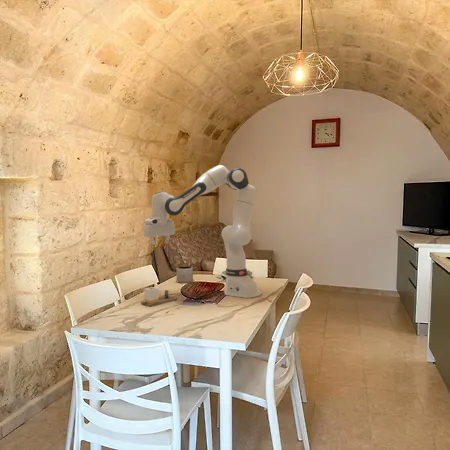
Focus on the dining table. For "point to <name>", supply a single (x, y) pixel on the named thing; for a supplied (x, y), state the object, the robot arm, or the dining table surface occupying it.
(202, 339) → the dining table surface
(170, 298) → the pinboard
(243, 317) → the dining table surface
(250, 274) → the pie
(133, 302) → the dining table surface
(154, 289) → the sleeve
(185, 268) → the planter
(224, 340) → the dining table surface
